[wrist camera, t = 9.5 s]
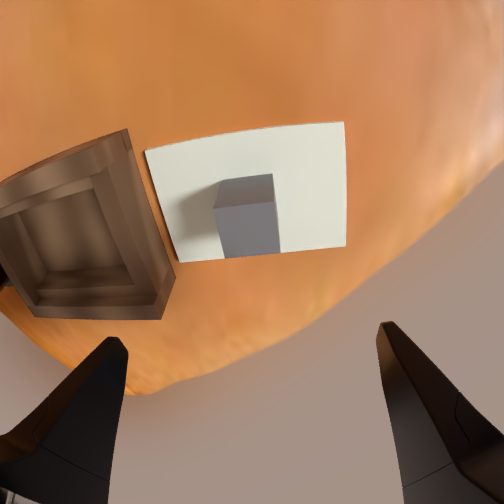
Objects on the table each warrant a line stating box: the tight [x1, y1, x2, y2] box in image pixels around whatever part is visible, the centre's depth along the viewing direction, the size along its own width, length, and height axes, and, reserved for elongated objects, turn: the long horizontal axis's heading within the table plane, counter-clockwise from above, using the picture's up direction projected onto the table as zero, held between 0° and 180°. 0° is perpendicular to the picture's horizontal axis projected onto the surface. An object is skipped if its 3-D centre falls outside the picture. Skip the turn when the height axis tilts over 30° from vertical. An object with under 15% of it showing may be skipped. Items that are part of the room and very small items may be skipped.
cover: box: [145, 121, 346, 263], centre depth 17 cm, size 12×9×5 cm
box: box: [0, 129, 176, 320], centre depth 18 cm, size 14×12×4 cm
